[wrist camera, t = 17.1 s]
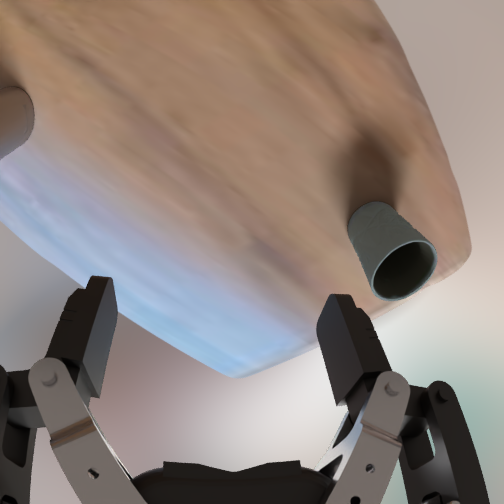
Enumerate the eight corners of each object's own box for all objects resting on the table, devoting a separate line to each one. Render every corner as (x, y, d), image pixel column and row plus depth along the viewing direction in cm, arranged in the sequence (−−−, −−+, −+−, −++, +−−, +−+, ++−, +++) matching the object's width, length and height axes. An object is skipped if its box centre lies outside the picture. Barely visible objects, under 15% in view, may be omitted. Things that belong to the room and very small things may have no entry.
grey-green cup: (344, 256, 50) (369, 309, 40) (340, 202, 44) (372, 252, 34) (398, 241, 49) (431, 289, 40) (400, 189, 43) (443, 232, 34)
